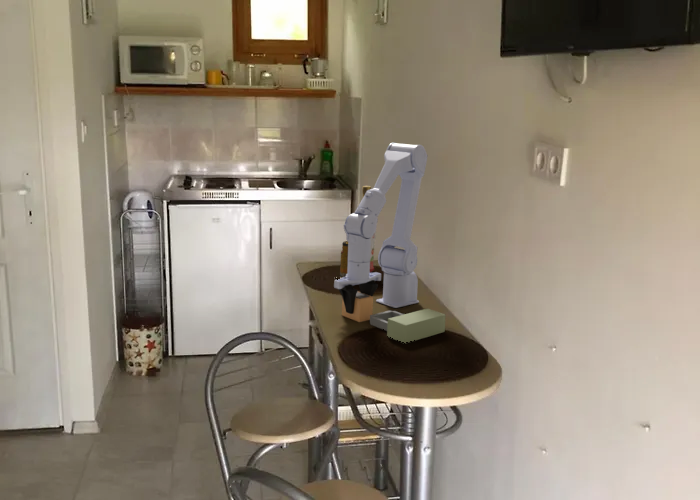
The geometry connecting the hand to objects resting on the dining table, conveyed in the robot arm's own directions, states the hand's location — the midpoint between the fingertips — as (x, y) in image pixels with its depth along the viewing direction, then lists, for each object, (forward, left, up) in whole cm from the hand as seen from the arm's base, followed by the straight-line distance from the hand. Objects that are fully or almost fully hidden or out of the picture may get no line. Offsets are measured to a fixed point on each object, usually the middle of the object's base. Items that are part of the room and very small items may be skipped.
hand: (357, 311), depth 185 cm
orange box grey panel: (0, 0, -2) cm, 2 cm away
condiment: (-22, -28, -2) cm, 36 cm away
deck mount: (-3, +14, -2) cm, 14 cm away
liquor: (-32, -33, -2) cm, 46 cm away
